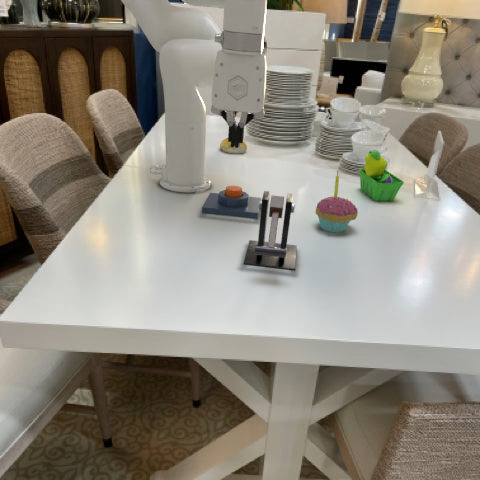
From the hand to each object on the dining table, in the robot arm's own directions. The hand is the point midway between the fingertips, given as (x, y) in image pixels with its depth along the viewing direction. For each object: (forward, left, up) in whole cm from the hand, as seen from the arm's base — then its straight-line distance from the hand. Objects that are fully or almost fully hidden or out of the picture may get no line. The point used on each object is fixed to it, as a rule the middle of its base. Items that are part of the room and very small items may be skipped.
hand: (235, 145), depth 97 cm
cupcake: (+22, -5, -14) cm, 27 cm away
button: (0, 0, -11) cm, 11 cm away
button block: (0, 0, -14) cm, 14 cm away
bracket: (+10, -22, -14) cm, 28 cm away
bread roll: (-7, +54, -14) cm, 56 cm away
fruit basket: (+34, +23, -14) cm, 44 cm away
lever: (+10, -26, -7) cm, 29 cm away
